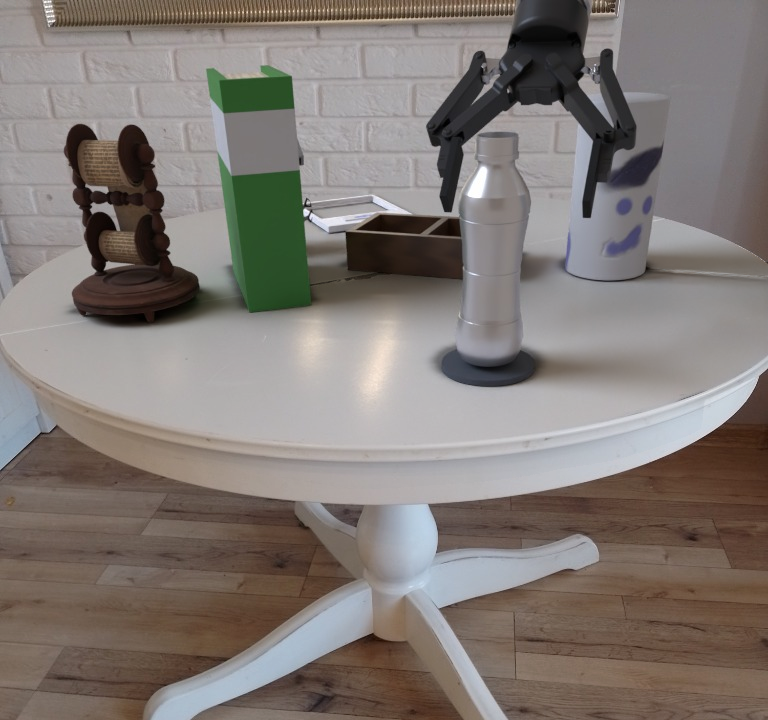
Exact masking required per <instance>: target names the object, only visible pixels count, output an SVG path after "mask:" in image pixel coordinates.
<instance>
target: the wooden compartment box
mask: <svg viewBox="0 0 768 720" xmlns="http://www.w3.org/2000/svg"><path fill="white" fill-rule="evenodd" d="M376 212H377V213H375V214H373V215H372V216H370V217H368V218H367V219H365V220H363V221H362V222H360V223H358V224H357V225H355V226H354V227H352V228H350V229H349V230H346V231H345V233H344V234H345V250H346V265H347V266H346V267H347V268H346V269H347V270H348V271H359V272H368V273H369V272H372V273H382V274H396V275H406V276H407V275H408V276H419V277H432V278H442V279H443V278H444V279H454V280H455V279H456V280H463V266H464V264H463V255H462V238H461V229H460V220H459V216H447V215H431V214H429V215H428V214H414V213H412V214H396V213H378V212H379V211H376Z"/></svg>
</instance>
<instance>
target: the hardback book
mask: <svg viewBox="0 0 768 720" xmlns="http://www.w3.org/2000/svg"><path fill="white" fill-rule="evenodd" d="M205 71H206V72H205V73H206V79H207V86H208V93H209V94H208V95H209V100H210V107H211V116H212V123H213V130H214V138H215V145H216V153H217V159H218V160H217V161H218V168H219V174H220V181H221V187H222V197H223V205H224V212H225V219H226V226H227V233H228V234H227V235H228V240H229V248H230V255H231V260H232V261H231V263H232V270H233V273H234V277H235V279H236V281H237V285H238V287H239V290H240V292H241V295H242V297H243V301H244V303H245V306H246V308H247V311H248V313H256V312H257V313H258V312H266V311H274V310H282V309H291V308H299V307H309V306H312V298H311V297H312V296H311V284H310V275H309V262H308V251H307V250H308V249H307V238H306V227H305V226H306V225H305V222H304V217H305V216H304V213H303V203H304V202H303V193H302V180H301V179H302V178H301V168H300V167H301V166H299V154H298V142H299V141H298V142H297V139H298V133H297V131H298V130H297V121H296V110H295V109H296V108H295V97H294V96H295V95H294V84H293V76H292V75H291V74H288V73H286V72H284V71H281V70H280V69H277V68H276V67H273V66H272V65H269V64H264V65H260V71H257V72H242V73H239V72H238V73H220V72H219V71H218V69H215V68H214V67H212V68H211V67H210V68H205Z"/></svg>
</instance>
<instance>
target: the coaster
mask: <svg viewBox="0 0 768 720" xmlns="http://www.w3.org/2000/svg"><path fill="white" fill-rule="evenodd" d="M440 365H441V367H440V369H441V372H442V373H443V374H444V375H445V376H446V377H447V378H449V379H450V380H453V381H455V382H458V383H461V384H465V385H471V386H478V387H501V386H508V385H514V384H517V383H520V382H524V381H525V380H526V379H529V378H530V377H531V376H532V375H533V374H534V372H535V369H536V368H535V367H536V361H535V359H534V357H533V356H532V355H531V354H529V353H528V352H526V351H524V350H521V349H520V352H519V353H518V355H517V356H516V357H515V359H514V360H513V361H512V362H510V363H508V364H505V365H501V366H494V367H484V366H476V365H472V364H470V363H467V362H465V361H464V360H463V359H462V357H461V356H460V354H459V353H458V351H457V348H455V349H452V350H451V351H449V352H447V353H446V354H445V355H443V357H442V359H441V363H440Z"/></svg>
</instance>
